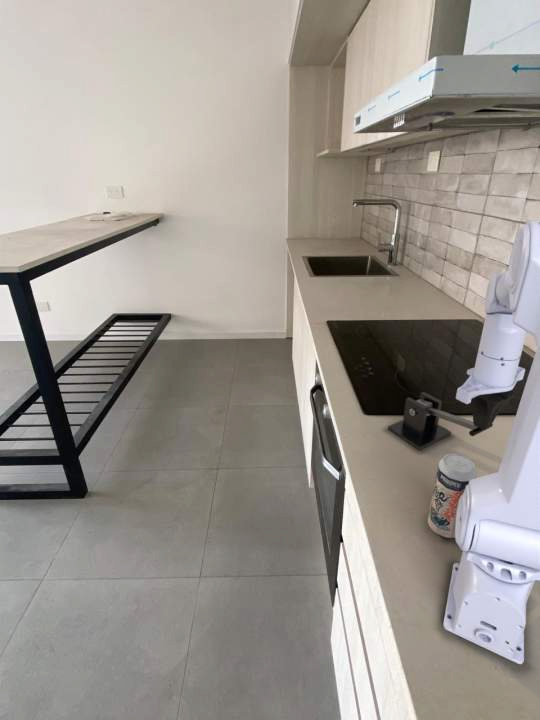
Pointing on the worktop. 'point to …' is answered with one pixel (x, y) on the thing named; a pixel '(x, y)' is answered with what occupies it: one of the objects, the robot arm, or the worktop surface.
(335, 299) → the worktop surface
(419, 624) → the worktop surface
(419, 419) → the bracket
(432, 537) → the worktop surface
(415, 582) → the worktop surface
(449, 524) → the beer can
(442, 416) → the lever
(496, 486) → the robot arm
